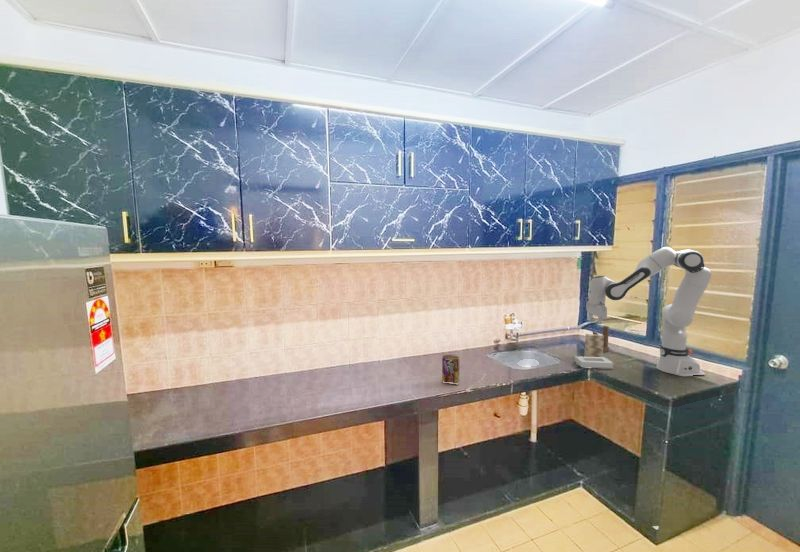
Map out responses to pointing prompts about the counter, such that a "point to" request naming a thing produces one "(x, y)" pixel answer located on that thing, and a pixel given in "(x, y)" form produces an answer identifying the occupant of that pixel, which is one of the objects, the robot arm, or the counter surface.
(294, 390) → the counter surface
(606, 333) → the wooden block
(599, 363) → the end cap
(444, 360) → the candy box
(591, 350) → the mottled tan box
